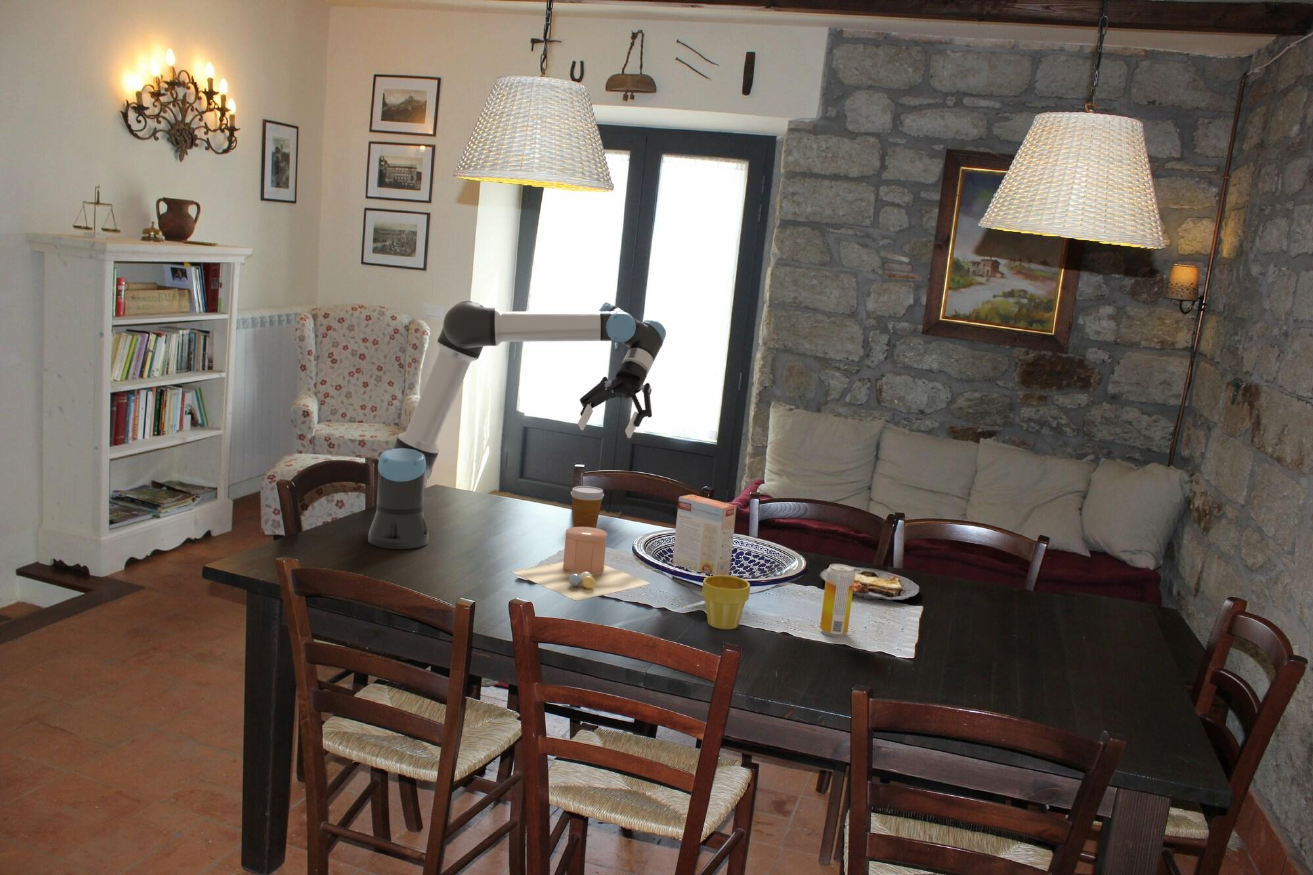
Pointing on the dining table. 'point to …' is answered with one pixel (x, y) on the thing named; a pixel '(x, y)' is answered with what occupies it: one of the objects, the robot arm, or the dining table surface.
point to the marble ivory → (585, 575)
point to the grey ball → (575, 580)
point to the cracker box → (704, 535)
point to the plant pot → (725, 600)
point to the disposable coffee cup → (586, 505)
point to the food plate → (880, 584)
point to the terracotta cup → (584, 550)
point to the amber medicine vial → (837, 600)
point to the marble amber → (588, 582)
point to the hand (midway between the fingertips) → (603, 430)
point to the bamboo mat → (559, 582)
